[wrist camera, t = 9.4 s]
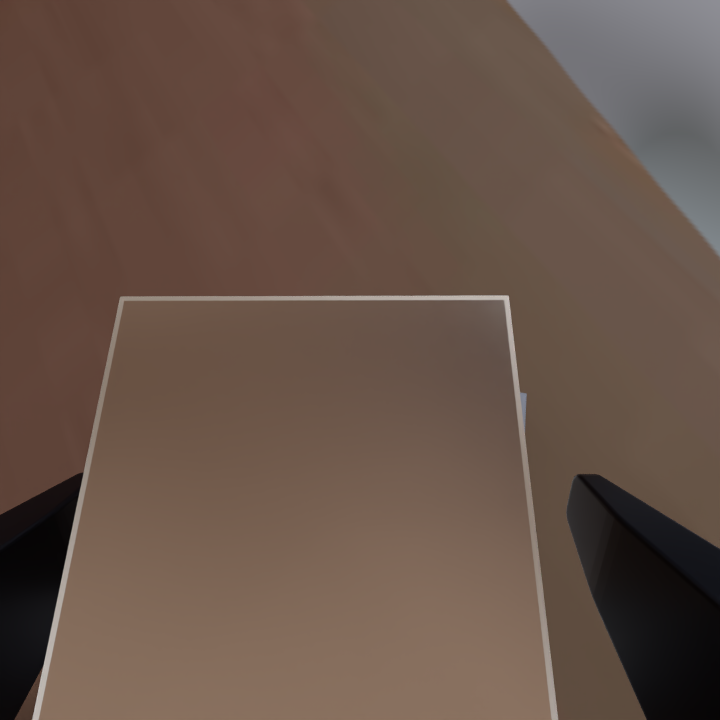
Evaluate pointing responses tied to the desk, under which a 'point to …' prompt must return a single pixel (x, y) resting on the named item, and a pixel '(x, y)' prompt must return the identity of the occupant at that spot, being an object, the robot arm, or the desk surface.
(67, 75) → the desk surface
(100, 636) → the beige rectangular block
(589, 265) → the desk surface
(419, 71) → the desk surface
